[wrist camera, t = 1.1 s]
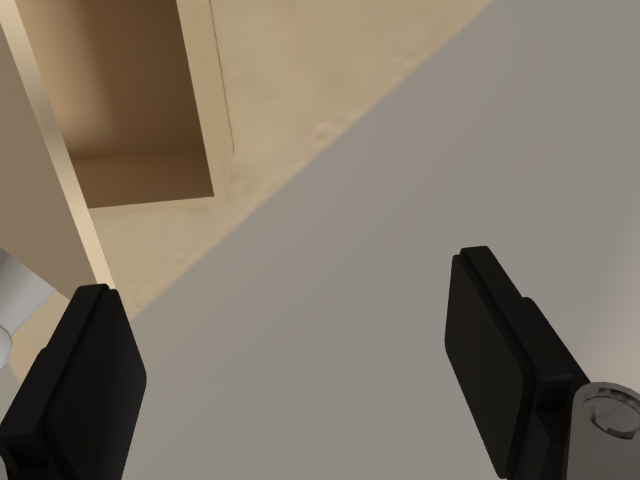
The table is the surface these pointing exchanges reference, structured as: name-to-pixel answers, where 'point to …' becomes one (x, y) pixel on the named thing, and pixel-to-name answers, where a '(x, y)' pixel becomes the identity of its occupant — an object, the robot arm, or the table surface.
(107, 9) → the carton
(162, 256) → the table surface
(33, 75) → the flap
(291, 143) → the table surface
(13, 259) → the salt shaker
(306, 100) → the table surface
